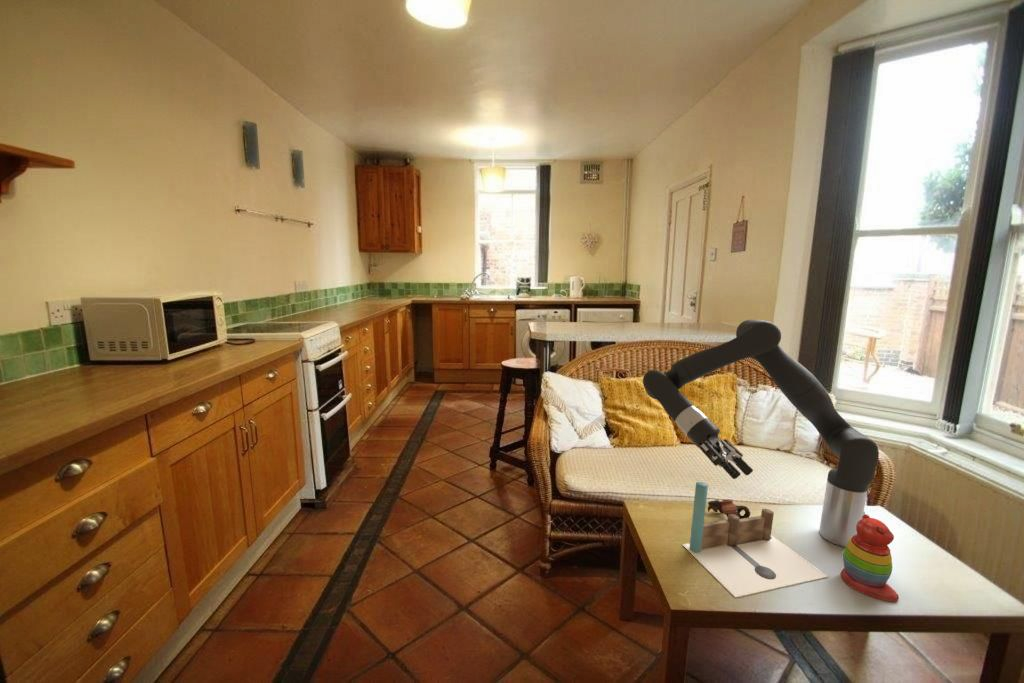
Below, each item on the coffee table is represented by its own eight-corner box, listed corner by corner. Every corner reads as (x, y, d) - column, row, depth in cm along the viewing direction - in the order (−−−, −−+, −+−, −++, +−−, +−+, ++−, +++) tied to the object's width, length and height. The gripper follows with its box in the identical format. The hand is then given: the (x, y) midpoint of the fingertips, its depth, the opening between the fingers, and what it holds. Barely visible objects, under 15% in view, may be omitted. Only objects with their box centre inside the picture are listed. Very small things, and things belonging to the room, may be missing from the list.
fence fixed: (764, 533, 125) (767, 508, 124) (772, 539, 122) (776, 513, 121) (722, 541, 121) (725, 514, 120) (730, 547, 118) (733, 520, 117)
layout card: (764, 530, 127) (764, 529, 127) (828, 577, 108) (828, 576, 108) (682, 545, 120) (682, 544, 119) (735, 598, 100) (735, 596, 100)
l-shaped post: (721, 539, 121) (728, 477, 118) (729, 546, 118) (737, 482, 115) (687, 545, 118) (693, 482, 115) (694, 552, 115) (701, 487, 112)
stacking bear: (902, 603, 100) (916, 536, 97) (854, 596, 102) (866, 530, 99) (873, 572, 110) (885, 510, 107) (830, 566, 112) (840, 505, 109)
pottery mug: (714, 531, 127) (707, 502, 130) (710, 528, 136) (703, 501, 138) (757, 527, 124) (748, 498, 127) (750, 524, 133) (742, 497, 136)
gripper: (694, 417, 109) (744, 468, 99) (716, 416, 118) (764, 463, 108) (675, 436, 112) (722, 487, 102) (698, 434, 121) (743, 481, 111)
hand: (744, 475), depth 105 cm, fingers open, 8 cm apart
